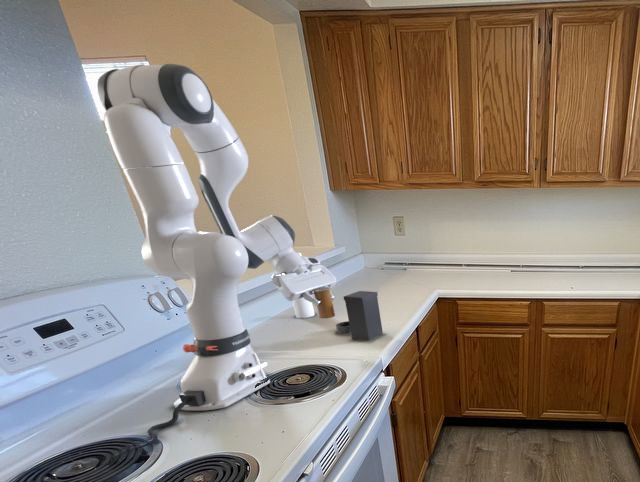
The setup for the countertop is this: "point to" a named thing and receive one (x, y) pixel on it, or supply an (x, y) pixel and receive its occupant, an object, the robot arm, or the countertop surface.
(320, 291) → the brown wooden cylinder
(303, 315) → the cylindrical container
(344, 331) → the brew holder
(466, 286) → the countertop surface
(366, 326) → the dark grey tall block
